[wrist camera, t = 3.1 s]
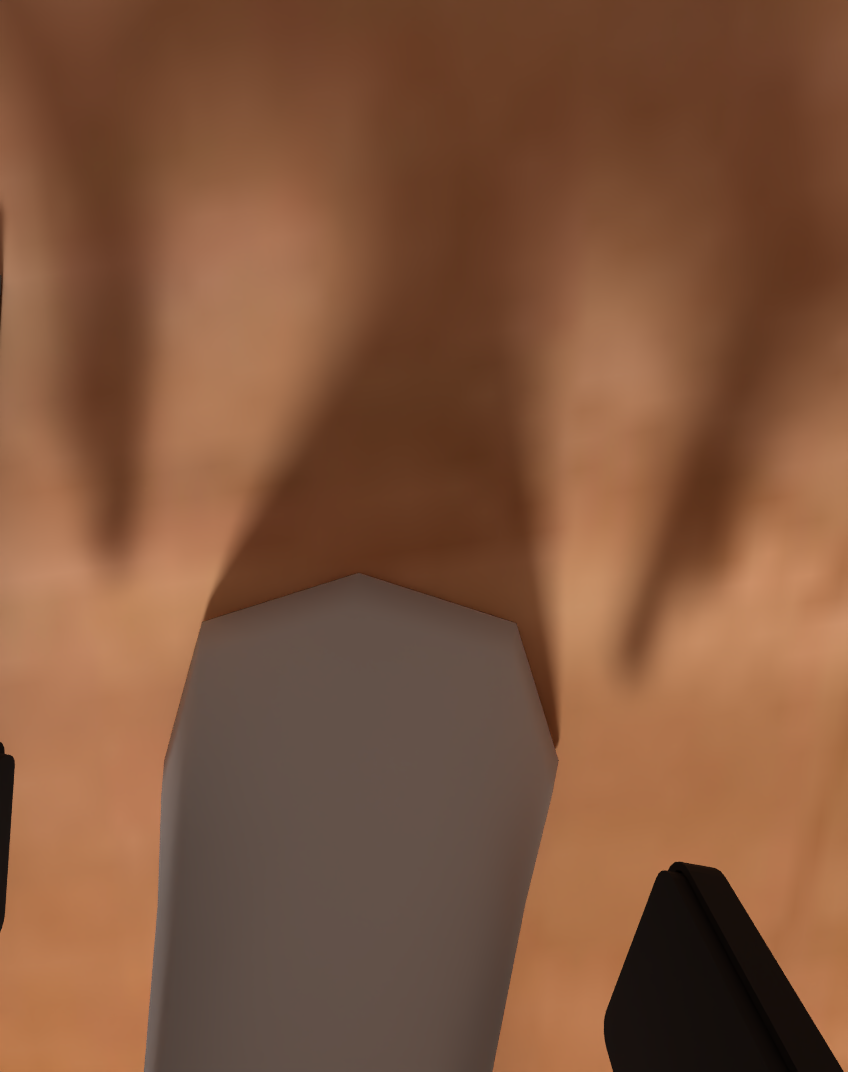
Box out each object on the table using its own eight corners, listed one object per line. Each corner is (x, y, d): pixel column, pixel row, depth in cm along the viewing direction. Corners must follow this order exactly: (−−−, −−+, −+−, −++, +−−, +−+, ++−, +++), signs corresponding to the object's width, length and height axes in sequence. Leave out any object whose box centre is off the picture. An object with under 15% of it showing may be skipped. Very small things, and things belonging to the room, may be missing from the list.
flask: (150, 566, 11) (-1654, 1922, 1) (568, 568, 11) (1529, 1852, 2) (187, 909, 13) (-497, 2513, 3) (544, 908, 13) (912, 2468, 3)
